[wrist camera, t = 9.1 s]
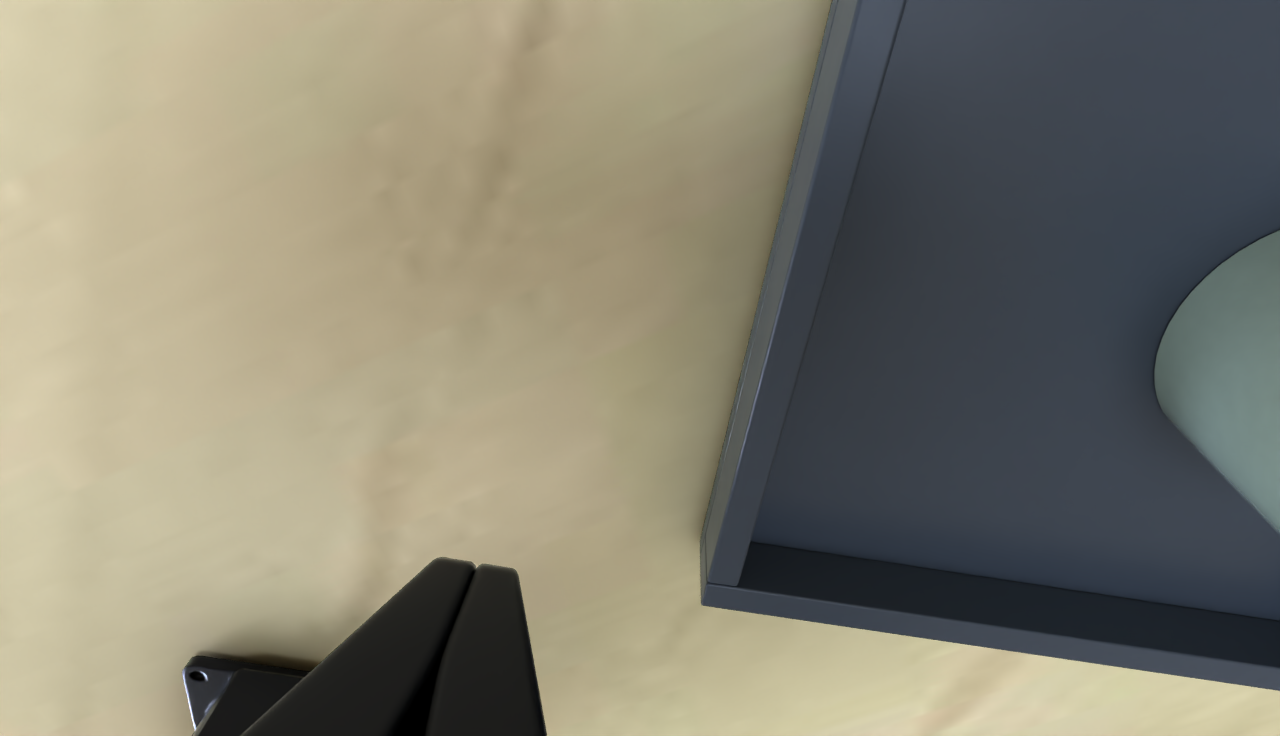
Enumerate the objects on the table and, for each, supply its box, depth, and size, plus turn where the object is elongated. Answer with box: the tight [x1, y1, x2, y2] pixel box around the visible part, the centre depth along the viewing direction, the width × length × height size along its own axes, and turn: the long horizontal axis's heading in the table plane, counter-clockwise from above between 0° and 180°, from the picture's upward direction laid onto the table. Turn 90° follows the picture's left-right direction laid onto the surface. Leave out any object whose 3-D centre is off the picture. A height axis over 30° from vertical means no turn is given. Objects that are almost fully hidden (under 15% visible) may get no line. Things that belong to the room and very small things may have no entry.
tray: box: [700, 0, 1280, 691], centre depth 16 cm, size 18×18×2 cm
